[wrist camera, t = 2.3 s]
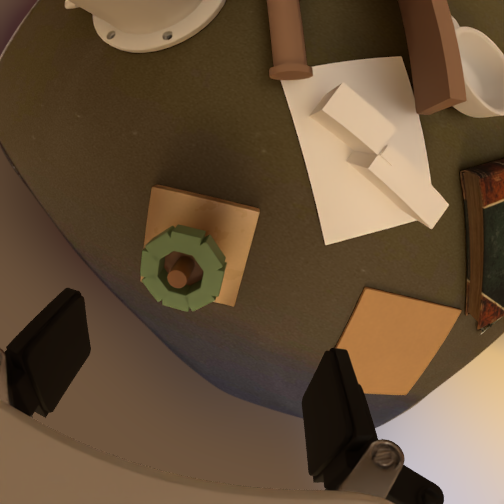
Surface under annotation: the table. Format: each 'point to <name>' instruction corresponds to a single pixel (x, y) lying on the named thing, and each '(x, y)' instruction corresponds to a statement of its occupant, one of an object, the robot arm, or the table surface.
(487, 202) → the book
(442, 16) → the toilet paper hanger
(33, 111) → the table surface
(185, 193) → the ring peg
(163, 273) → the ring
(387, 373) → the cork mat
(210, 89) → the table surface
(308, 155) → the napkin holder
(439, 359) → the table surface
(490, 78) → the teacup
